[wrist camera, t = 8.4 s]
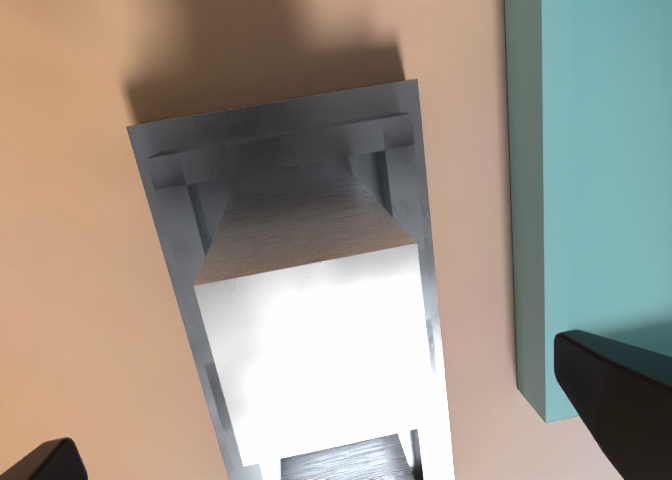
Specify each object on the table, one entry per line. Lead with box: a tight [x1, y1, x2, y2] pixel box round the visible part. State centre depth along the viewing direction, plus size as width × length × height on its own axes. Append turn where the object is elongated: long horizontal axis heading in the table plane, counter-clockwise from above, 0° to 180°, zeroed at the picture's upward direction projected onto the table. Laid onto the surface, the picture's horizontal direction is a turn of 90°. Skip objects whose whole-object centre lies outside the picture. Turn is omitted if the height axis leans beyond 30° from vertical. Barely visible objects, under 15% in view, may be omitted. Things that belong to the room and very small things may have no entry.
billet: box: [194, 176, 436, 466], centre depth 14 cm, size 4×4×8 cm
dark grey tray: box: [127, 79, 454, 480], centre depth 19 cm, size 20×10×3 cm, turn 9°
